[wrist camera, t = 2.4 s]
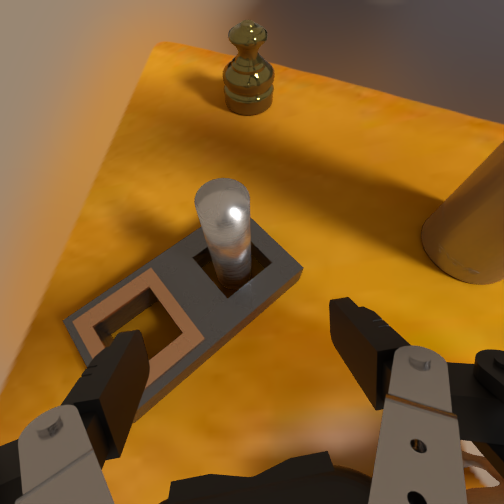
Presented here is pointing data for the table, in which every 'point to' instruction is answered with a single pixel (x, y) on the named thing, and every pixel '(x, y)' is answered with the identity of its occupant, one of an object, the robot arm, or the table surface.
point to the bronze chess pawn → (248, 71)
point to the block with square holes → (184, 307)
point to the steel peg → (226, 229)
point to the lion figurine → (488, 498)
